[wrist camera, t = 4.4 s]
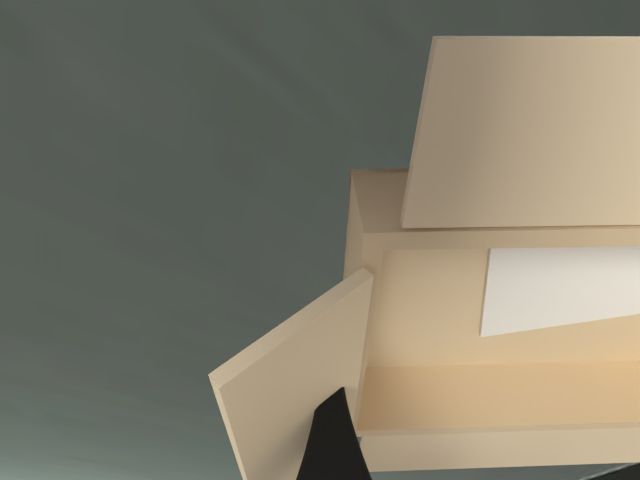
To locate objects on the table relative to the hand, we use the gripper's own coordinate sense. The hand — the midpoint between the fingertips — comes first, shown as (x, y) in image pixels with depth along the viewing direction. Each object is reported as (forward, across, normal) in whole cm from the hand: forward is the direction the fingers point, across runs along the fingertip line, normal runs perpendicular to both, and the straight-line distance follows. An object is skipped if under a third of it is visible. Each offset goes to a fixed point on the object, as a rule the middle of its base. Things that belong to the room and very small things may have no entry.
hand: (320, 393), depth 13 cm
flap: (-1, 0, 0) cm, 1 cm away
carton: (+5, +10, 0) cm, 11 cm away
